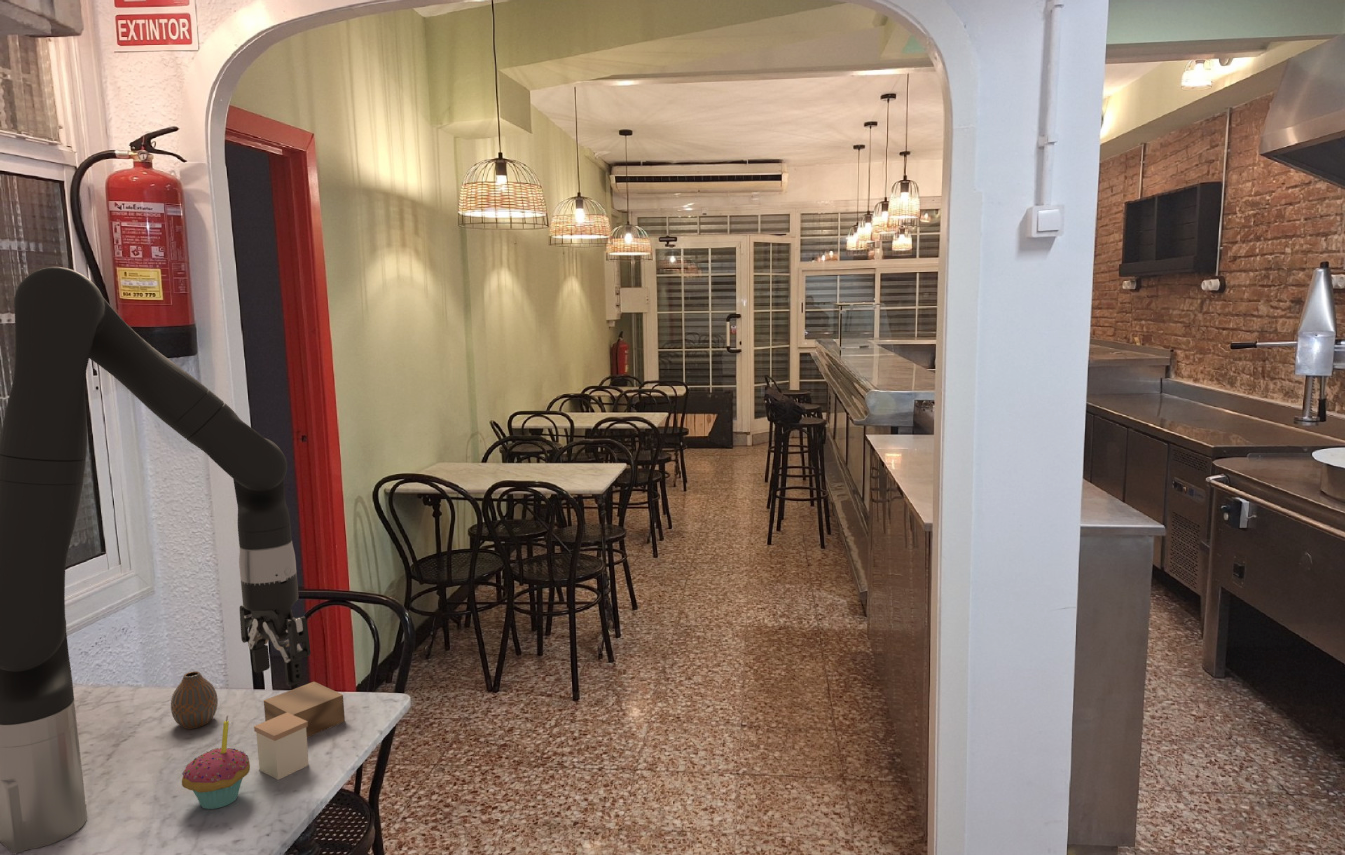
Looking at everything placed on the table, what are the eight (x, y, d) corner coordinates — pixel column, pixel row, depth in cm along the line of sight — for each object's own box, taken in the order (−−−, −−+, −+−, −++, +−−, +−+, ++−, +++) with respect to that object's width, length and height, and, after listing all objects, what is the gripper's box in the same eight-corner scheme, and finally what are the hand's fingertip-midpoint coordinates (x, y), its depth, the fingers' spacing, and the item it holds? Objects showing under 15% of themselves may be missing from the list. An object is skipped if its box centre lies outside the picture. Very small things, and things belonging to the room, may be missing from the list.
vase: (227, 714, 149) (223, 666, 148) (202, 734, 142) (197, 683, 141) (190, 713, 150) (186, 665, 148) (163, 732, 143) (158, 682, 142)
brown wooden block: (294, 744, 139) (292, 715, 138) (265, 728, 144) (263, 700, 144) (344, 722, 146) (343, 694, 145) (316, 708, 151) (314, 681, 151)
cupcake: (236, 777, 128) (230, 701, 127) (263, 797, 123) (257, 718, 121) (174, 803, 122) (166, 723, 120) (200, 825, 117) (192, 742, 115)
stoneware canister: (277, 781, 127) (274, 736, 127) (257, 770, 131) (253, 726, 130) (310, 765, 132) (307, 721, 131) (290, 755, 135) (287, 712, 134)
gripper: (217, 572, 128) (227, 675, 130) (272, 588, 120) (281, 698, 122) (265, 559, 134) (274, 658, 136) (320, 574, 126) (328, 679, 128)
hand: (277, 677), depth 129 cm, fingers open, 8 cm apart
